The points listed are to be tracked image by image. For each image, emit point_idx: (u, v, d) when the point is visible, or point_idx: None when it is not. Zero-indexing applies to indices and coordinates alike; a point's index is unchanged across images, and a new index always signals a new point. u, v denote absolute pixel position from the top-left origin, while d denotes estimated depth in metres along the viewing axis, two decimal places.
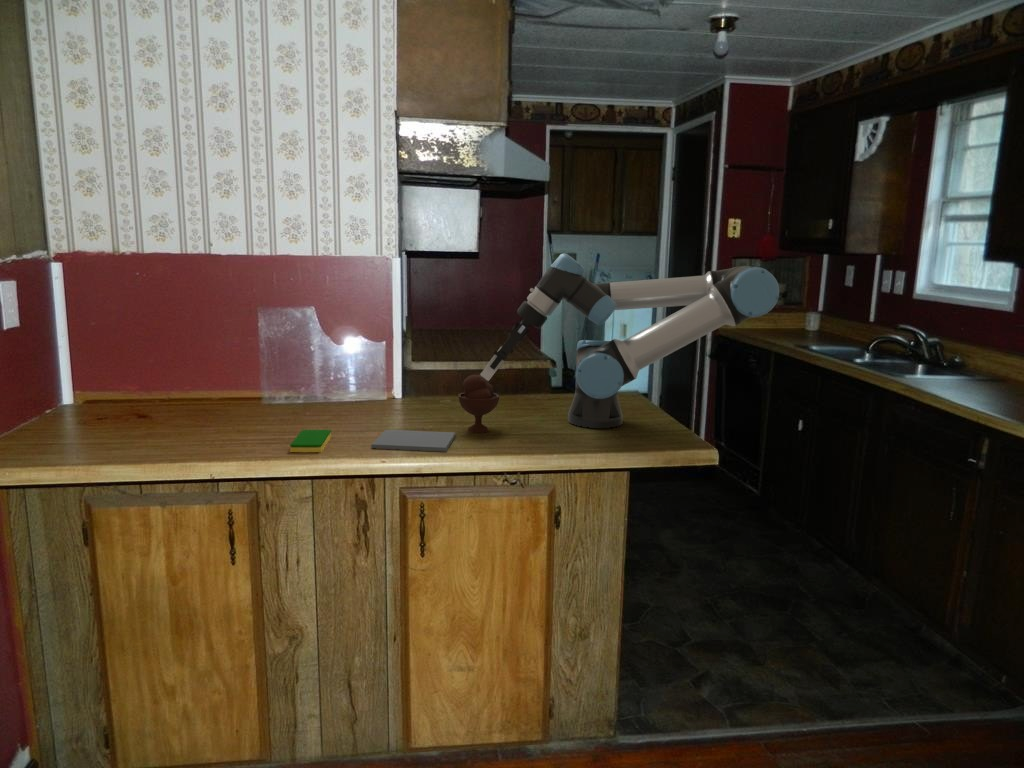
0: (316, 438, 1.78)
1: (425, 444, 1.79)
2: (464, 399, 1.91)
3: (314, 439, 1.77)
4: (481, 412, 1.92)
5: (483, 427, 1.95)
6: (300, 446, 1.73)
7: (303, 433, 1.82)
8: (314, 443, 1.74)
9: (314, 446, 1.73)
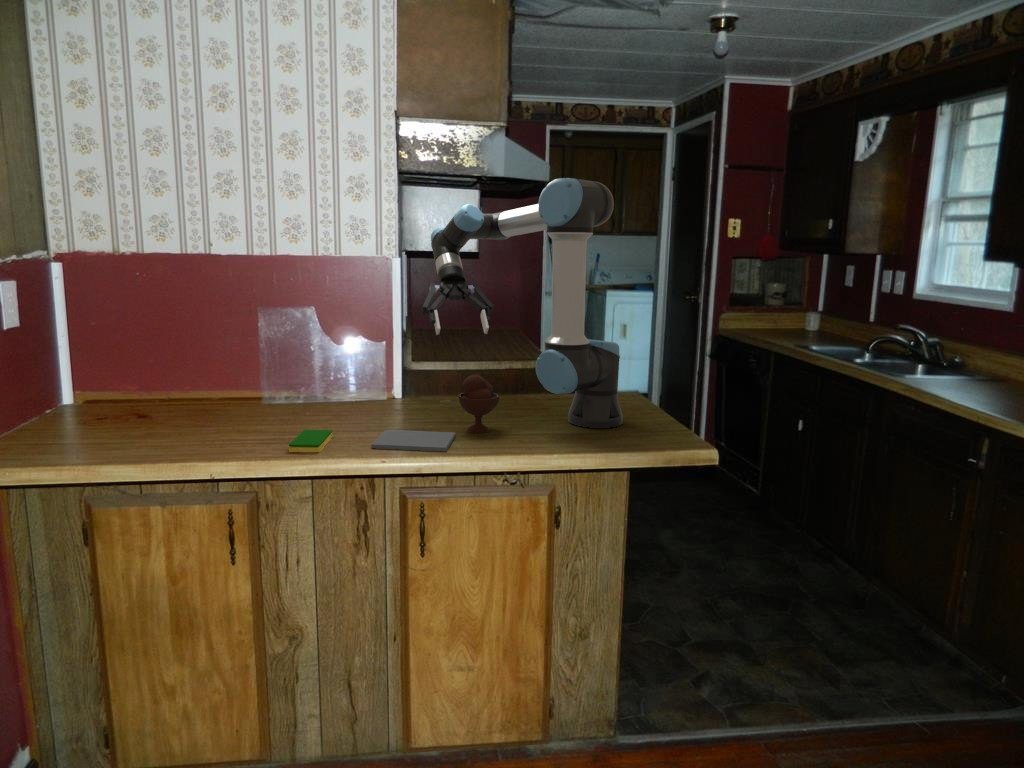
0: (316, 438, 1.78)
1: (425, 444, 1.79)
2: (464, 399, 1.91)
3: (313, 439, 1.77)
4: (481, 412, 1.92)
5: (483, 427, 1.95)
6: (298, 446, 1.73)
7: (304, 433, 1.83)
8: (313, 443, 1.74)
9: (312, 446, 1.73)
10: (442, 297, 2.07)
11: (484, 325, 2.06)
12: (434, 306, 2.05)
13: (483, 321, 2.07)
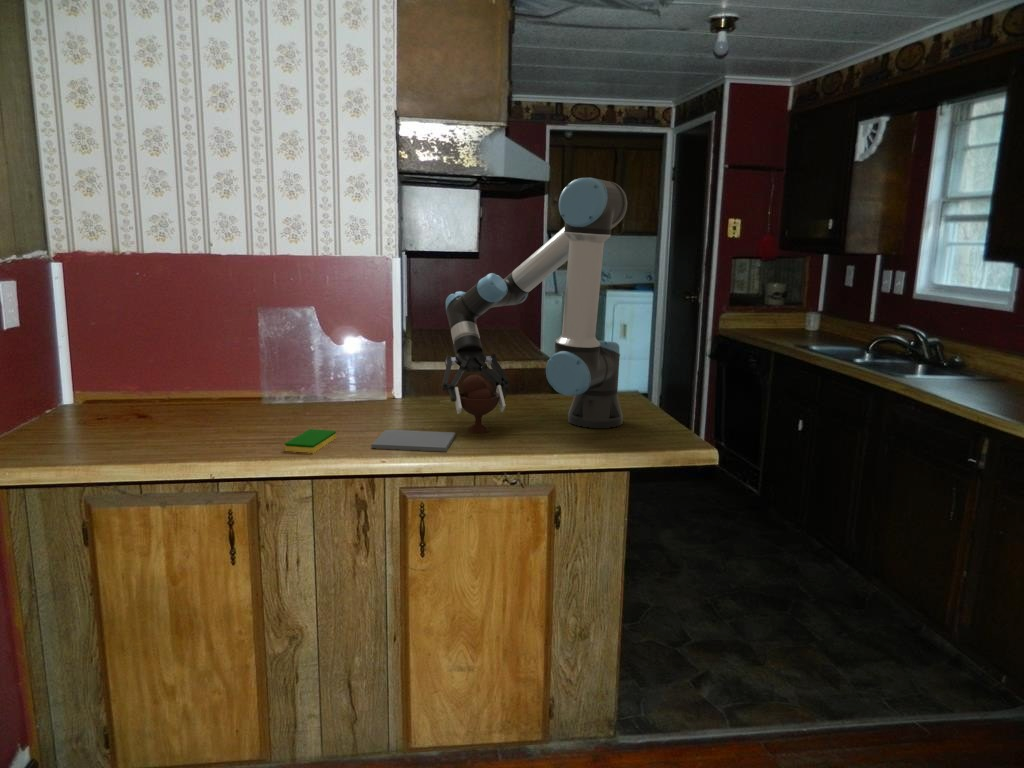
0: (314, 438, 1.78)
1: (425, 444, 1.79)
2: (464, 399, 1.91)
3: (311, 439, 1.77)
4: (481, 412, 1.92)
5: (483, 427, 1.95)
6: (294, 445, 1.73)
7: (307, 432, 1.83)
8: (308, 443, 1.74)
9: (307, 446, 1.73)
10: (461, 371, 1.97)
11: (501, 402, 1.95)
12: (454, 382, 1.94)
13: (499, 398, 1.96)
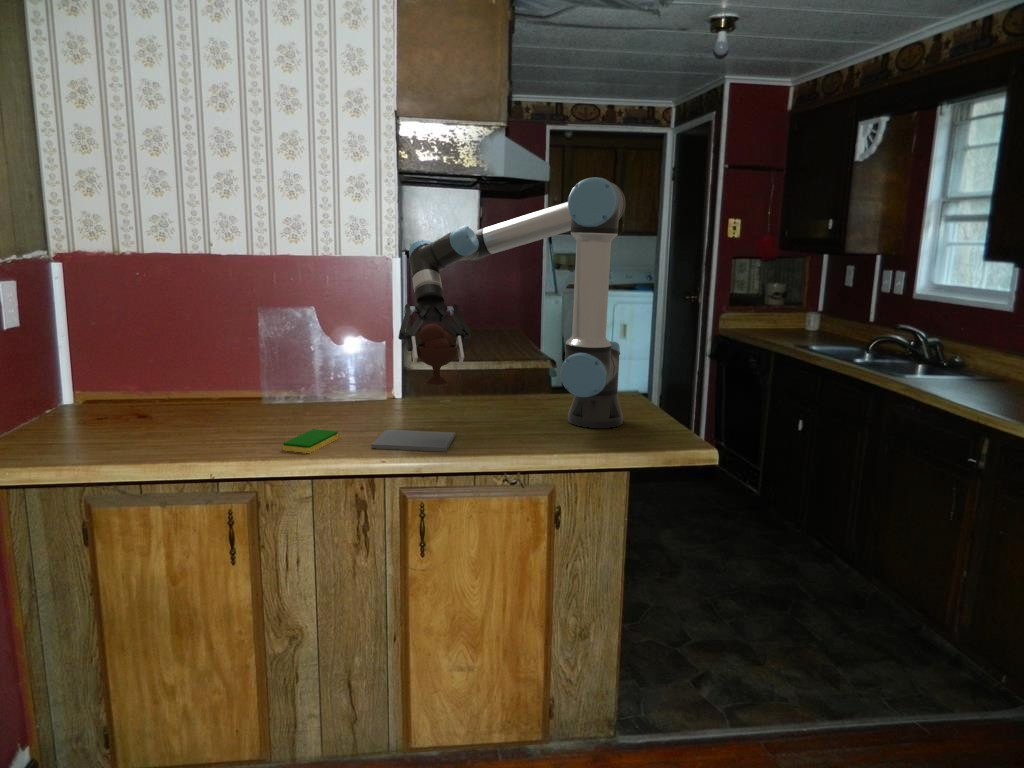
0: (313, 438, 1.78)
1: (425, 444, 1.79)
2: (420, 349, 1.83)
3: (310, 439, 1.77)
4: (438, 363, 1.84)
5: (441, 379, 1.87)
6: (291, 445, 1.73)
7: (308, 432, 1.83)
8: (305, 443, 1.74)
9: (303, 446, 1.73)
10: (419, 320, 1.88)
11: (460, 353, 1.86)
12: (411, 331, 1.86)
13: (458, 349, 1.87)
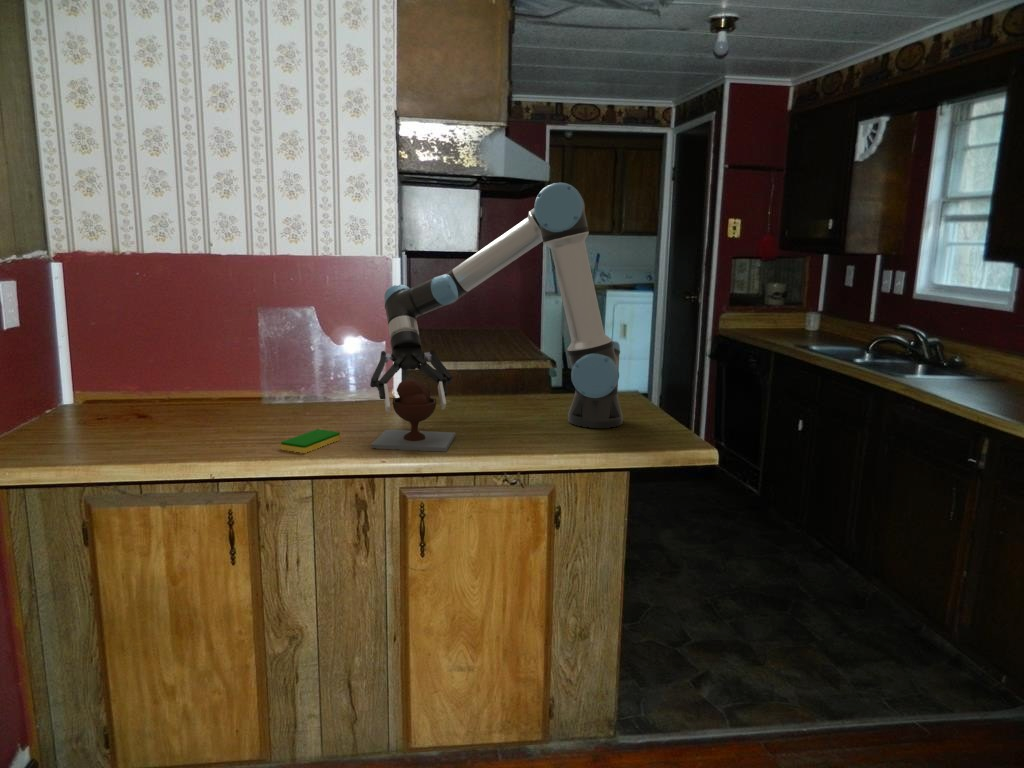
0: (312, 438, 1.78)
1: (425, 444, 1.79)
2: (398, 405, 1.78)
3: (309, 439, 1.77)
4: (416, 419, 1.80)
5: (419, 435, 1.83)
6: (288, 444, 1.74)
7: (310, 432, 1.83)
8: (302, 443, 1.74)
9: (299, 446, 1.73)
10: (394, 368, 1.84)
11: (441, 399, 1.82)
12: (384, 379, 1.81)
13: (440, 395, 1.83)
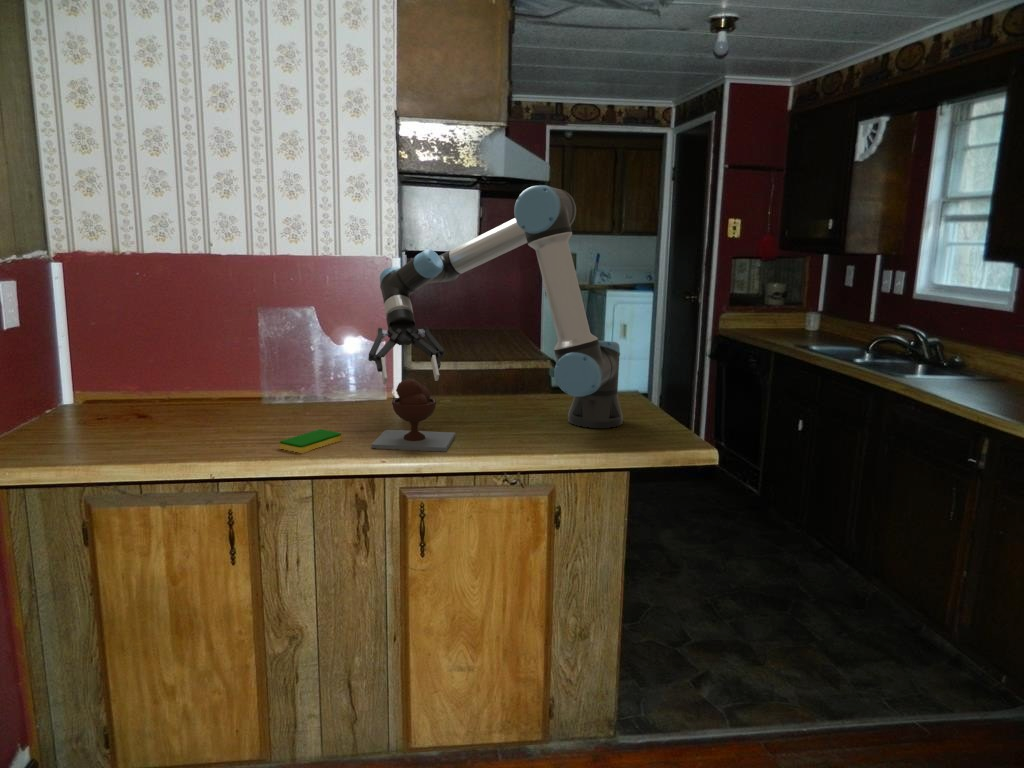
0: (311, 439, 1.78)
1: (425, 444, 1.79)
2: (397, 405, 1.78)
3: (307, 439, 1.77)
4: (416, 419, 1.80)
5: (419, 435, 1.83)
6: (286, 444, 1.74)
7: (312, 432, 1.83)
8: (299, 443, 1.74)
9: (296, 446, 1.73)
10: (390, 343, 1.97)
11: (435, 371, 1.96)
12: (381, 353, 1.94)
13: (433, 367, 1.97)
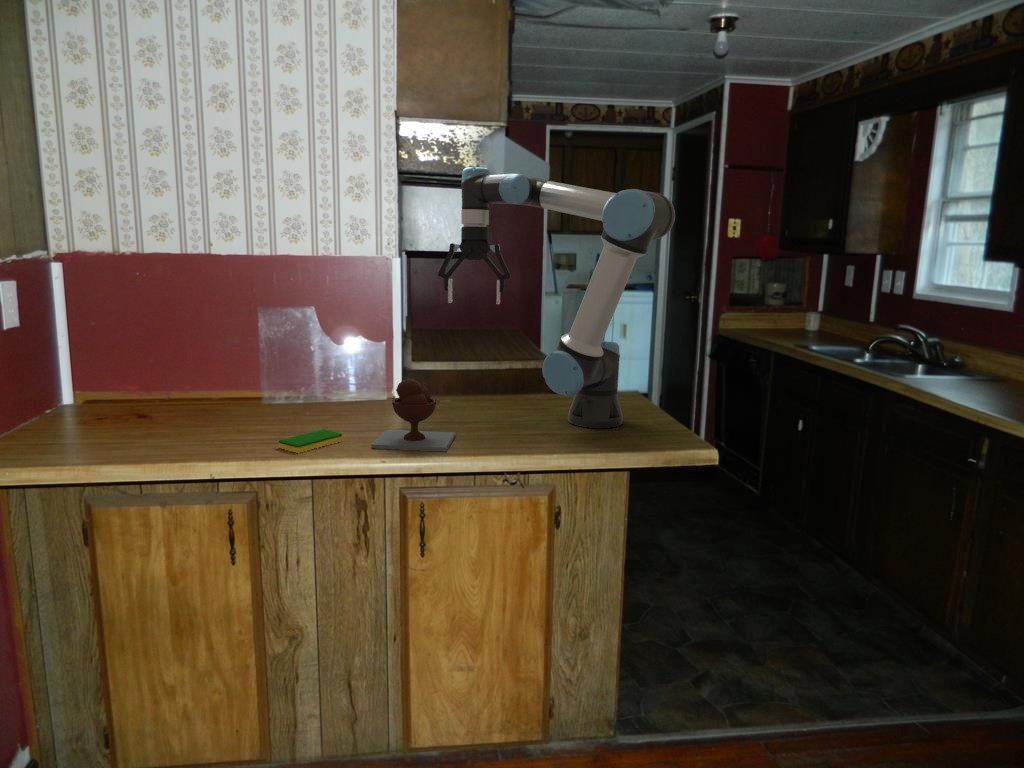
0: (310, 439, 1.78)
1: (425, 444, 1.79)
2: (397, 405, 1.78)
3: (306, 439, 1.77)
4: (416, 419, 1.80)
5: (419, 435, 1.83)
6: (284, 443, 1.75)
7: (314, 432, 1.83)
8: (297, 443, 1.74)
9: (293, 446, 1.73)
10: (459, 263, 2.06)
11: None
12: (449, 274, 2.07)
13: None
